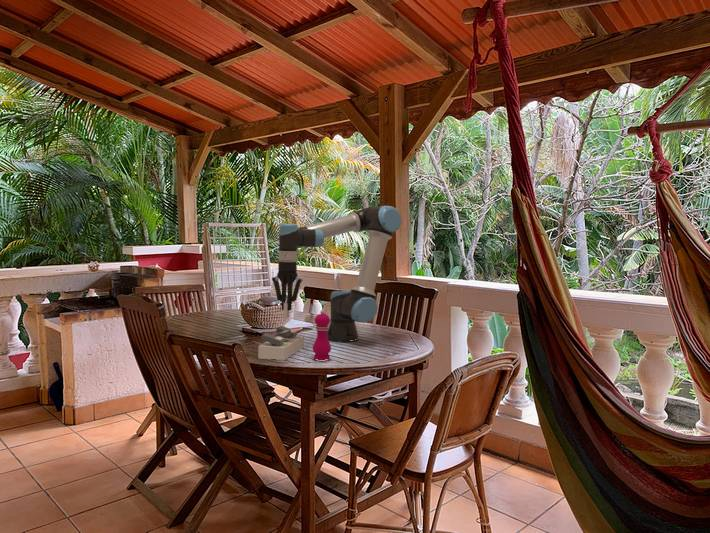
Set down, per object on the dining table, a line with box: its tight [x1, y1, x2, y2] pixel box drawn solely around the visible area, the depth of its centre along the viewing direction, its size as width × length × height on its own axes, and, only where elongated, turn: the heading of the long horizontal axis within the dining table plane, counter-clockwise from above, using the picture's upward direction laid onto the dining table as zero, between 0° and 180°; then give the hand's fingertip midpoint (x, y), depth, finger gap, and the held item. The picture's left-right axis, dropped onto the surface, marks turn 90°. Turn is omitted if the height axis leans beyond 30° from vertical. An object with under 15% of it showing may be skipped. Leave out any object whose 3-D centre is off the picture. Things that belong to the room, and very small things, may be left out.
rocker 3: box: [275, 325, 298, 338], centre depth 234 cm, size 8×5×2 cm, turn 77°
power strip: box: [257, 335, 305, 361], centre depth 229 cm, size 11×30×6 cm, turn 167°
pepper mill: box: [312, 309, 332, 360], centre depth 216 cm, size 7×7×20 cm
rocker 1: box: [260, 332, 285, 346], centre depth 218 cm, size 8×5×2 cm, turn 77°
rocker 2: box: [272, 330, 291, 338], centre depth 226 cm, size 8×5×2 cm, turn 77°
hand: (286, 318), depth 225 cm, fingers closed
